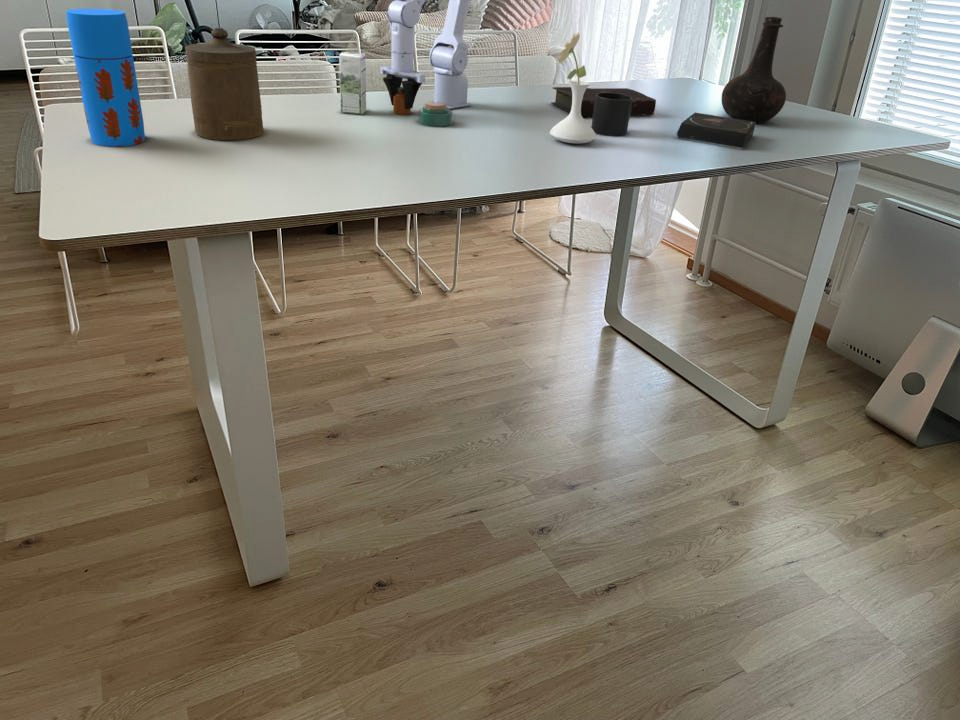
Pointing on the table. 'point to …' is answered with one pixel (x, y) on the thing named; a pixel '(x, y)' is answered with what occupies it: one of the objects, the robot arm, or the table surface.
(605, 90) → the diary
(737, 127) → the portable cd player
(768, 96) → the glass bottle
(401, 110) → the amber bottle
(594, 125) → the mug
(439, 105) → the green round container
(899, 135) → the table surface
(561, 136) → the flower in vase
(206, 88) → the wooden container
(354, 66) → the syrup box
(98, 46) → the thermos
